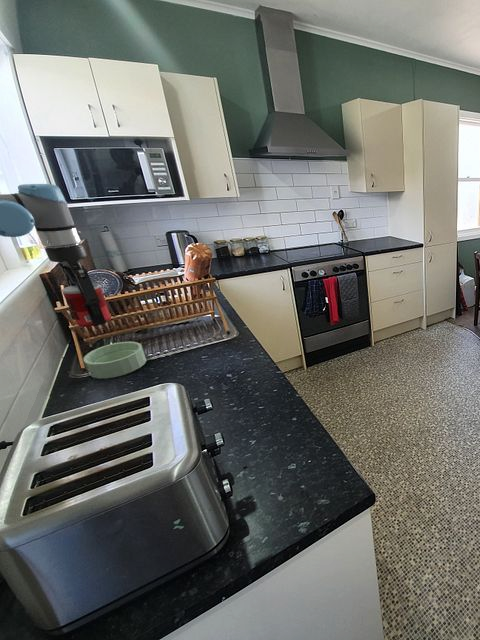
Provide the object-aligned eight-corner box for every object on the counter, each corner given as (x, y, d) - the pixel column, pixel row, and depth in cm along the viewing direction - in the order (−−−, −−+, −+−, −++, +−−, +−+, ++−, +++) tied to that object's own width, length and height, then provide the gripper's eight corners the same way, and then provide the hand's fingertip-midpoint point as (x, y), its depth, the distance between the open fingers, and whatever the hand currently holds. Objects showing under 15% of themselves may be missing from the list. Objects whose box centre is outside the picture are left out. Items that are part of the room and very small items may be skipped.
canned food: (119, 317, 107) (106, 283, 102) (93, 328, 100) (78, 292, 95) (96, 315, 107) (83, 281, 103) (69, 326, 100) (53, 290, 96)
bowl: (101, 385, 107) (93, 369, 104) (83, 370, 113) (76, 354, 111) (155, 364, 118) (149, 349, 115) (135, 352, 125) (130, 337, 122)
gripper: (95, 248, 92) (124, 325, 101) (69, 237, 102) (97, 308, 111) (56, 253, 86) (91, 334, 96) (32, 241, 96) (66, 316, 105)
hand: (94, 320), depth 103 cm, fingers closed on canned food, 8 cm apart
